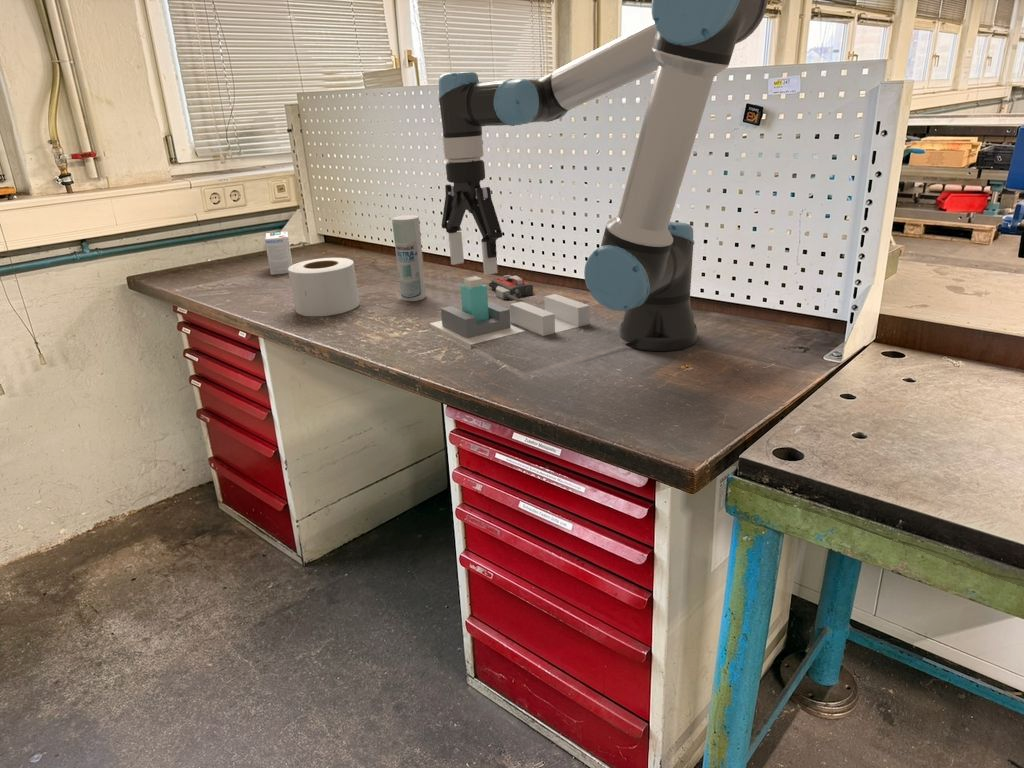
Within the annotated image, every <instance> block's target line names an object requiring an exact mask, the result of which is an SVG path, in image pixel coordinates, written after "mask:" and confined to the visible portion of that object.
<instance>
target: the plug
mask: <svg viewBox="0 0 1024 768" xmlns="http://www.w3.org/2000/svg"><path fill="white" fill-rule="evenodd" d="M483 282H484V281H483V278H482V277H480V276H476V275H474V276H469V277H464V278H463V284H462V285H459V286H460V298H461V299H460V300H461V311H463V312H466V313H468V314H470V315H472V316H475V317H476V322H480V321H485V320H489V314H488V301H489V300H488V299H489V298H488V285H486V284H483Z"/></svg>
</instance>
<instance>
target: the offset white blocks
mask: <svg viewBox="0 0 1024 768" xmlns="http://www.w3.org/2000/svg"><path fill="white" fill-rule="evenodd" d="M543 299H544V302H543V303H544V309H543V308H540V307H538V306H535V305H532V304H529V303H527V302H524V301H523V302H518V301H516V302H513V303H510V304H509V309H510V324H514V325H517V326H519V327H521V328H523V329H526V330H528V331H531V332H533V333H535V334H538V335H540V336H543V337H545V336H549V335H552V334H556V333H560V332H563V331H567V330H571V329H576V328H580V327H583V326H588V325H590V322H591V321H590V317H591V316H590V314H591V313H590V309H591V308H590V305H589V304H586V303H584V302H581V301H578V300H574V299H572V298H569V297H565V296H563V295H560V294H556V293H553V294H549V295H545V296H544V297H543Z"/></svg>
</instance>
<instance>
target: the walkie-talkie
mask: <svg viewBox="0 0 1024 768" xmlns="http://www.w3.org/2000/svg"><path fill="white" fill-rule="evenodd" d="M488 287H490V288H491V289H492V290H493V291H495V295H496V297H498V298H500V299H501V300H510V301H516V302H524V300H523V299H521V297H526V296H532V295H534V285H533V284H532V283H529V282H527V281H525V280H524V278H522V277H519V276H518V275H512V274H508V275H507V274H506V275H502V276H498V277H494V278H492V279H491V282H489V283H488Z"/></svg>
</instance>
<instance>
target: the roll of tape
mask: <svg viewBox="0 0 1024 768" xmlns="http://www.w3.org/2000/svg"><path fill="white" fill-rule="evenodd" d="M288 272H289V273H288V276H289V283H290V287H291V293H292V298H293V303H294V304H293V305H294V309H295V313H296V314H299V315H301V316H303V317H304V316H305V317H327V316H335V315H339V314H344V313H347V312H350V311H352V310H354V309H356V308H358V307H359V306H360V304H361V303H360V296H359V289H358V283H357V277H356V276H357V275H356V269H355V263H354V260H352V259H350V258H347V257H323V258H315V259H308V260H303V261H300V262H297V263H294V264H293V265H292V266H290V267H289V268H288Z"/></svg>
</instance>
